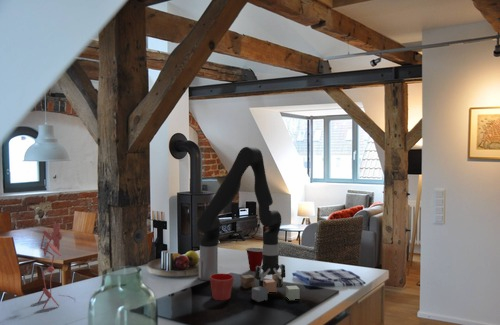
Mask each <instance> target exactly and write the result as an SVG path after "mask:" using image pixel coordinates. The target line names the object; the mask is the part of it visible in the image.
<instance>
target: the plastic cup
mask: <svg viewBox="0 0 500 325" xmlns="http://www.w3.org/2000/svg"><path fill="white" fill-rule="evenodd" d="M245 251H246V254H247V261H248V267H249V271H251V272H256V266H262V264H263V247H262V248H261V247H246V248H245Z"/></svg>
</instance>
